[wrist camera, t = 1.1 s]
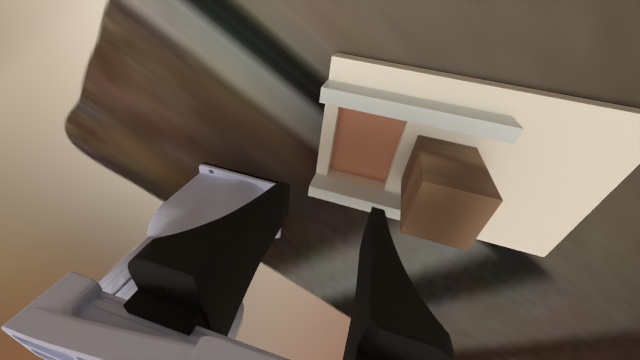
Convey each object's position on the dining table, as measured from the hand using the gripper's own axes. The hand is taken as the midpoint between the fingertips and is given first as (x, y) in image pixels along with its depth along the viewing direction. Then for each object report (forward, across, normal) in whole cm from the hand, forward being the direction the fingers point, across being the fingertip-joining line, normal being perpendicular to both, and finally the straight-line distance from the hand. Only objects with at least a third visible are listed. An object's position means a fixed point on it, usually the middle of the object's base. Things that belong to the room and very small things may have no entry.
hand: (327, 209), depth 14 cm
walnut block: (+8, -6, 0) cm, 10 cm away
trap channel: (+9, -6, 0) cm, 11 cm away
